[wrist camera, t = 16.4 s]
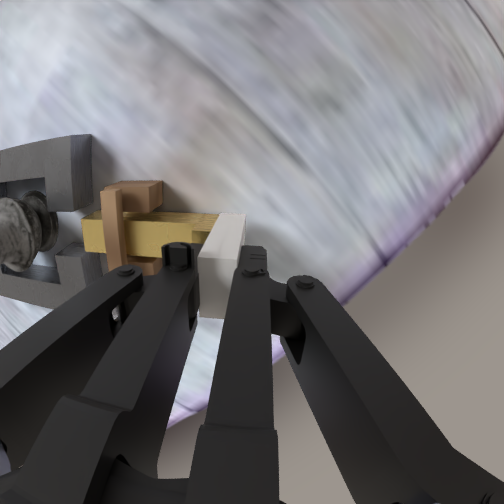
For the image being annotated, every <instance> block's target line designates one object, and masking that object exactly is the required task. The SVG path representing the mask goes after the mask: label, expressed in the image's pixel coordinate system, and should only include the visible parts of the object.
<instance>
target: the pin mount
mask: <svg viewBox="0 0 504 504" xmlns="http://www.w3.org/2000/svg"><path fill="white" fill-rule="evenodd" d="M100 197H101V211H102V222H103V232H104V240H105V248H106V256H107V263H108V269H109V272H110V271H112V270H113V269H115V268H117V267H119V266H123V265H126V264H127V265H128V264H131V265H136V266H139V267H141V269H142V271H143V276H147V275H157V274H158V272H159V271H160V269H161V268H162V266H163V265H162V258H160V257H147V256H135V255H127V253H126V243H125V233H124V221H123V212H143V213H150V212H151V211H153V210H154V209H155V208H157V207H158V206H160V205H161V204H163V193H162V181H120V182H117V183H114V184H112V185H109V186H106V187H104V190H103V191H100Z"/></svg>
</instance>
